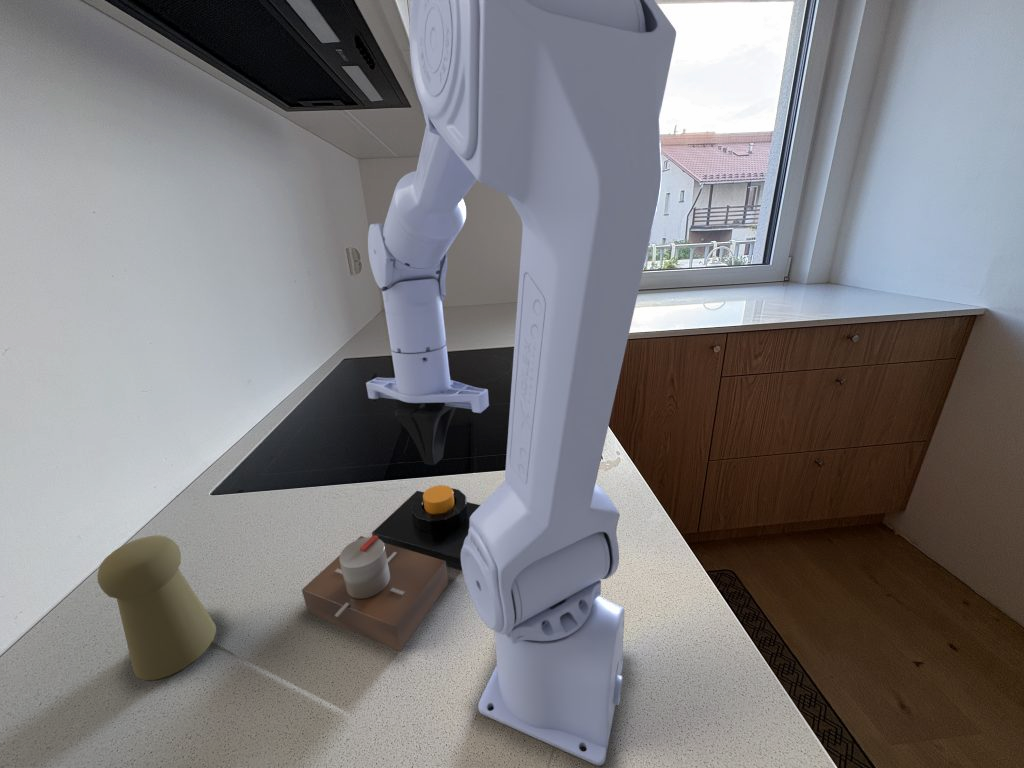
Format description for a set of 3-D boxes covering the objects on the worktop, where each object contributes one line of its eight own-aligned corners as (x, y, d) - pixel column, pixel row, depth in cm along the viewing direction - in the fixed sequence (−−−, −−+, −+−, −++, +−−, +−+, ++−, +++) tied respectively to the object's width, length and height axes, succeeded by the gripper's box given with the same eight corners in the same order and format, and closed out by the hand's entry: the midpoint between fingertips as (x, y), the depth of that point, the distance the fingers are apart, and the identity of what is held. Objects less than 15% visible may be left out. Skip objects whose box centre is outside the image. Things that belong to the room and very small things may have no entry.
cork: (116, 687, 35) (61, 584, 31) (158, 625, 40) (116, 531, 37) (196, 671, 36) (153, 568, 32) (227, 612, 41) (193, 519, 38)
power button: (460, 500, 52) (458, 488, 51) (444, 518, 49) (442, 505, 48) (435, 494, 53) (433, 482, 52) (418, 511, 50) (416, 499, 49)
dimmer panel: (448, 583, 43) (445, 559, 42) (392, 663, 35) (386, 635, 34) (365, 557, 48) (360, 534, 46) (298, 623, 40) (291, 597, 39)
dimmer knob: (370, 604, 38) (363, 570, 36) (337, 591, 39) (328, 558, 38) (398, 572, 41) (392, 540, 40) (366, 562, 43) (360, 530, 41)
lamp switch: (498, 520, 53) (496, 496, 51) (462, 571, 45) (459, 544, 44) (418, 501, 57) (415, 478, 56) (373, 544, 49) (368, 519, 48)
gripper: (497, 340, 45) (504, 453, 49) (388, 334, 50) (403, 436, 55) (465, 359, 39) (476, 485, 43) (344, 350, 44) (366, 462, 49)
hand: (433, 460), depth 49 cm, fingers closed
